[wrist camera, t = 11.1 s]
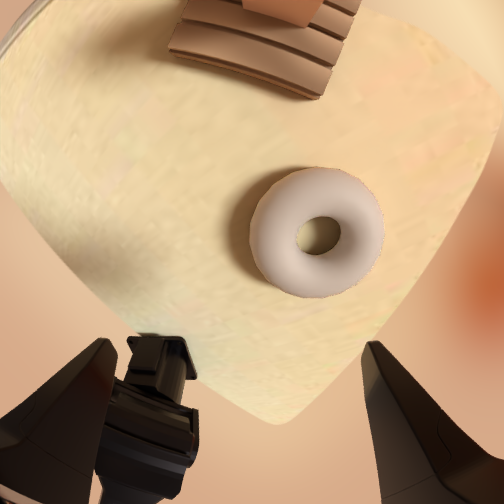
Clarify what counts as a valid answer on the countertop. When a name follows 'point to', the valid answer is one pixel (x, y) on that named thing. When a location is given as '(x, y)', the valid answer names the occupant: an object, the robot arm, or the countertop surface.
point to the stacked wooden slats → (265, 42)
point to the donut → (302, 210)
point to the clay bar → (286, 9)
